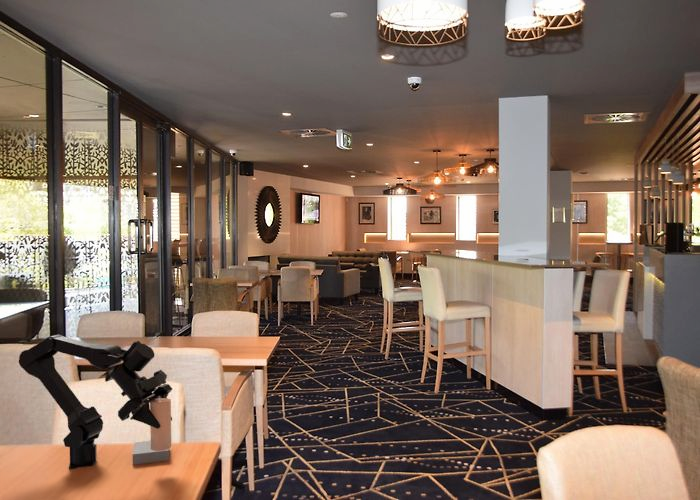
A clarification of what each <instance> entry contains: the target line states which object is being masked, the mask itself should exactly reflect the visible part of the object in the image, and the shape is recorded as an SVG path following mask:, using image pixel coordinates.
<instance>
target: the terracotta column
mask: <svg viewBox="0 0 700 500" xmlns="http://www.w3.org/2000/svg"><path fill="white" fill-rule="evenodd" d="M149 406H150V411H151V412H152V414H153V415H154V416H155V418H156V419H157V421H158V422H159V424H160V425H161V427H160V428H159V429H157V428H154V427H152V426H150V425H149V426H150V427H149V429H150V430H149V431H150V441H151V450H154V451H163V450H167V449H169V450H170V449H171V448H172V421H171V417H172V400H171V398H169V397H167V398H159V399H154V400H151V401H150V403H149Z"/></svg>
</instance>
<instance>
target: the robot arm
mask: <svg viewBox="0 0 700 500" xmlns="http://www.w3.org/2000/svg"><path fill="white" fill-rule="evenodd" d="M58 353H62V354H66V355H68V356H69V355H70V356H71V357H72V356H73V357H76V358H80V359H83V360H86V361H88V362H89V364H90V365H91V366H94V367H95V368H98V369H100V370H106V369H109V368H111V367H113V368H112V369H110V370H107V371H106V372H105V379H104V382H106V383H107V382H109V381H110V382H111V380H113V381H114V382H115V383H116V384H117V386H118V387H119V388H120V389H121V391H122V392H121V393H120V394H121V396H122V397H124V396H125V397H128V398H129V400H127V401H126V402H125V403H124V404H123V406H121V407H120V408H119V409H118V411H117V416H118V418H119V419H120V420H121V421H122V422H124V421H127V419H130V420H131V421H132V420H134V421H136V422H140V423H143V424H145V425H148V426H152V427H154V428H157V429H159V428H160V427H161V425H160V424H159V422H158V421H157V419H156V418H155V416H154V415H153V414H152V412H151V411H150V401H151V400H154V399H159V398H168V396H169V393H171V392H172V391H173V388H172V386H171V385H170V384H169V383H167V381H166V380H167V377H168V375H167V374H166V373H165V372H164V371H163V370H162V369H160V370H157V371H155V372H154V373H153V375H152V376H151V377H149V378H147V377H146V376H140V375H139V374H138V372H141V371H142V370H143V369H144V368H145V367H146V366H147V365H148V364H149V363H150V362H151V361H152V360H153V358H154V357H155V352H154V349H152V347H150V346H148V345H147V344H144V343H141V341H140V340H136V341H133V343H131V346H130V347H128V349H123V348H122V347H121V346H119V345H117V344H93V343H89V342H86V341H82V340H79V339H73V338H71V337H66V336H63V335H62V334H54V335H51V336H47V337H46V338H44V339H43V340H42V341H41V342H39V343H37V344H36V345H33V346H32V347H30V348H29V349H25V350H22V351H21V352H20V354H19V357H18V364H19V366H20V368H22V369H23V370H24V371H25V372H26V373H27V374H28V375H29V376H30V375H31V376H32V377H34V378H37V379H38V380H39V381H40V383H42V385H43V386H44V388H45V389H46V391H47V392H48V394H50V396H51V397H52V399H54V401H55V403H56V404H57V406H59V408H60V410H61V411H62V412H63V413H64V414H65V417H66V418H67V428H68V430H69V433H68V434H66V436H65V437H64V438H63V440H62V441H63V444H64V447H65V448H69V464H68V469H74V468H85V467H92V466H94V465H95V462H96V461H97V458H98V457H97V455H98V453H97V450H98V449H97V443H96V444H95V440H96V439H99V437H100V434H101V432H102V431H103V428H104V421H103V419H102V417H103V416H102V415H101V414H100V413H99V412H98V411H97V409H96V408H95V406H90V407H86V406H84V405H83V404H82V402H81V401H80V399H78V397H77V395H75V393H74V392H73V391H72V389H71V388H70V387H69V385H68V384H67V383H66V380H64V378H63V377H62V376H61V374H60V373H59V372H58V371H57V369H56V367H55V366H56V365H55V364H56V363H55V361H56V360H55V358H54V356H55V355H57V354H58ZM130 414H131V415H132V416H131V417H130ZM172 421H173V417H172V416H171V422H172Z"/></svg>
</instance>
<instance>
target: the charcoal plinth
mask: <svg viewBox="0 0 700 500" xmlns="http://www.w3.org/2000/svg"><path fill="white" fill-rule="evenodd" d="M167 461H170V448H169V449H167V450H163V451H154V450H151V440H147V441H145V440H144V441H134V442H133V449H132V465H140V464H149V463H158V462H159V463H160V462H167Z"/></svg>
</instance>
